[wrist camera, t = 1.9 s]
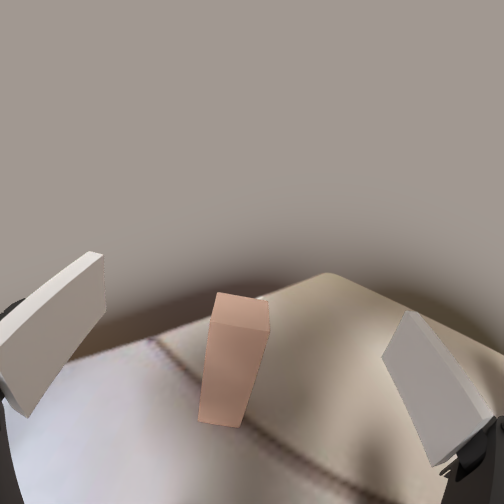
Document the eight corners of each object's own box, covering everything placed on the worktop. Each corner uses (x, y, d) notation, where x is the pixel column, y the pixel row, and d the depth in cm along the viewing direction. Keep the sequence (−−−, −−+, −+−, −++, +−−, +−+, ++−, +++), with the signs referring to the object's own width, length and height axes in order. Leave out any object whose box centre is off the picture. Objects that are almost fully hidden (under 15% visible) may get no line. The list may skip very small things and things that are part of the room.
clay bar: (203, 391, 29) (217, 292, 24) (241, 398, 29) (267, 301, 24) (197, 421, 24) (210, 321, 19) (239, 427, 25) (270, 331, 20)
